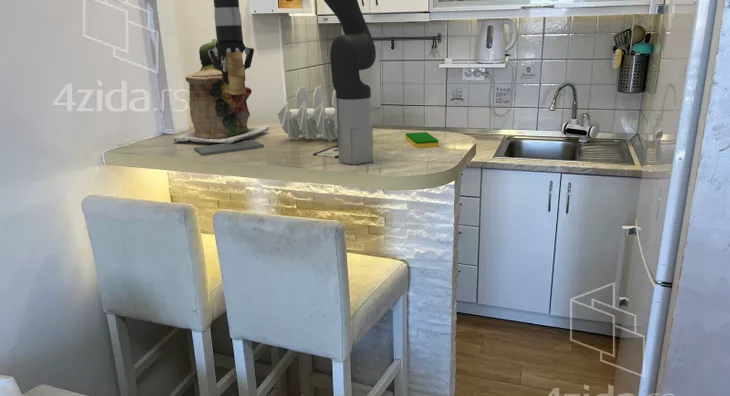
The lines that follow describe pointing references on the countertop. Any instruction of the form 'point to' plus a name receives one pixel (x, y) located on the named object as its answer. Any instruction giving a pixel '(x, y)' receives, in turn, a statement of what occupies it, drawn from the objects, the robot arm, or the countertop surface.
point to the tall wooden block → (235, 74)
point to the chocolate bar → (328, 152)
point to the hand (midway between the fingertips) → (234, 83)
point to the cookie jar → (216, 106)
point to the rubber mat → (228, 147)
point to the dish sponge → (422, 140)
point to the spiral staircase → (310, 116)
